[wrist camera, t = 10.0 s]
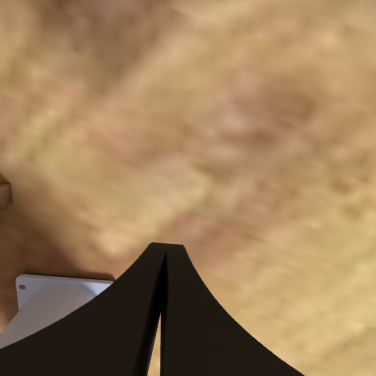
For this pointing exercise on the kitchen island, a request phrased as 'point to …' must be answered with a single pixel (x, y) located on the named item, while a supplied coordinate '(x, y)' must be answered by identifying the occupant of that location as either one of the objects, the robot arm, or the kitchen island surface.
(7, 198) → the dock
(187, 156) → the kitchen island surface
